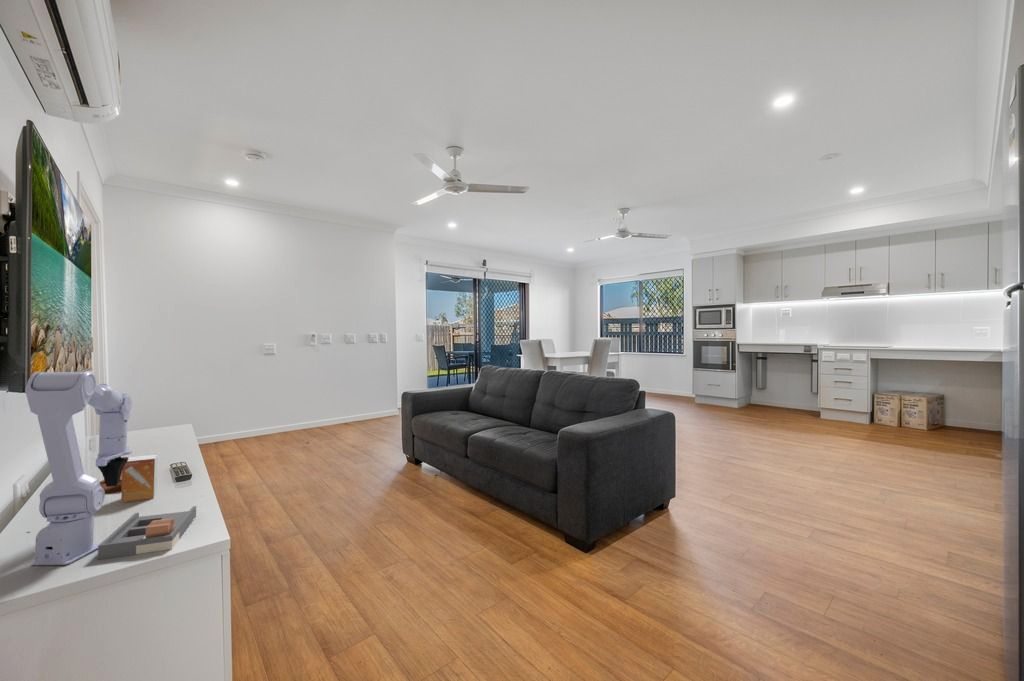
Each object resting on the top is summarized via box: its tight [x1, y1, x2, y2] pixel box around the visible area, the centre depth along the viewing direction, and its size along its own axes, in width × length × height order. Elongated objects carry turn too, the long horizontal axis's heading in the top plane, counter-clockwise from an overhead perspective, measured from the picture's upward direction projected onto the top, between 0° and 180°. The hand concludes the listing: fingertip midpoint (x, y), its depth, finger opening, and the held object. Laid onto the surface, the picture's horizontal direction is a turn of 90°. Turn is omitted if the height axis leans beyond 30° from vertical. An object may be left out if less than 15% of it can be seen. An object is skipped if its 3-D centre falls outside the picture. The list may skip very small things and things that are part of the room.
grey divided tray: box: [97, 505, 197, 560], centre depth 113 cm, size 21×14×3 cm, turn 23°
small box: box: [120, 454, 159, 503], centre depth 140 cm, size 8×6×13 cm
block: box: [146, 518, 174, 538], centre depth 108 cm, size 4×4×4 cm
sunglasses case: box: [99, 473, 122, 495], centre depth 151 cm, size 18×7×7 cm
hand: (112, 485), depth 121 cm, fingers closed
